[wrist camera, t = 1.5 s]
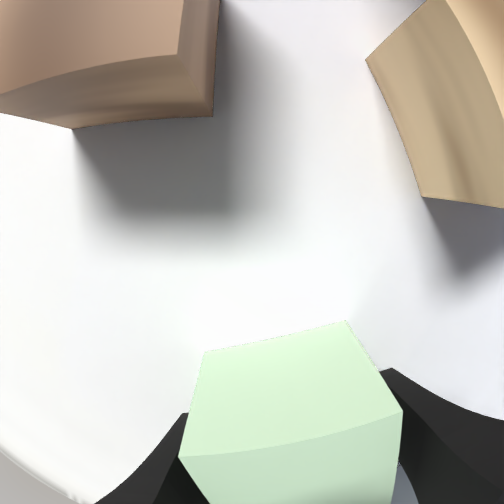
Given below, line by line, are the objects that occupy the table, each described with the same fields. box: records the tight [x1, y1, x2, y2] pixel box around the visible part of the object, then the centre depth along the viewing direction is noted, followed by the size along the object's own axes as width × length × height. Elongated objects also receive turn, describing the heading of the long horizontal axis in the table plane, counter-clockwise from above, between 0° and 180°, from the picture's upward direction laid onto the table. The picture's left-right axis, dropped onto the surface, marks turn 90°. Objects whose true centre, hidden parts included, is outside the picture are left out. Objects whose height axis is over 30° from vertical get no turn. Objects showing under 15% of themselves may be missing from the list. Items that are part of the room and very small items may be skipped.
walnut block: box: [0, 0, 220, 129], centre depth 6 cm, size 5×5×5 cm
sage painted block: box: [178, 320, 403, 504], centre depth 9 cm, size 5×5×5 cm
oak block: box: [365, 0, 504, 209], centre depth 6 cm, size 5×5×5 cm
